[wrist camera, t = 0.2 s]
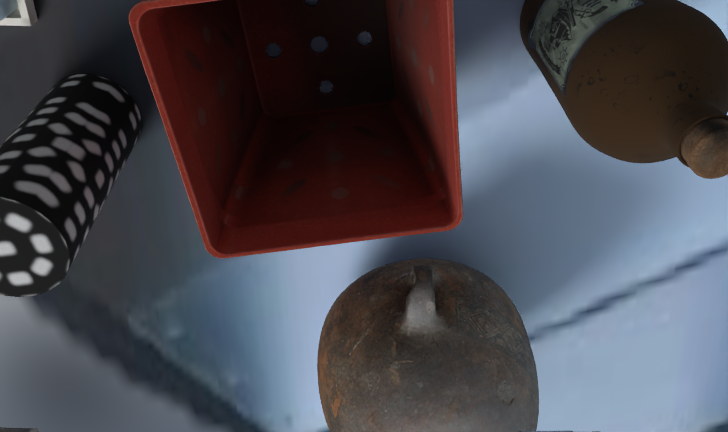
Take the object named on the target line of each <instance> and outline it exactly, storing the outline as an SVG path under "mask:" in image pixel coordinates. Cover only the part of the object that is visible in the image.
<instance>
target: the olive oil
mask: <svg viewBox="0 0 728 432" xmlns="http://www.w3.org/2000/svg"><path fill="white" fill-rule="evenodd" d="M520 31H521V37H522V40H523V43H524V45H525V47H526V49H527V51H528V52H529V54H530V55H531V57H532V59H533V60H534V62H535V63H536V65H537V66H538V68H539V69H540V71H541V72H542V74H543V76H544V77H545V79H546V81H547V82H548V84H549V86H550V87H551V89H552V91H553V92H554V94H555V96H556V97H557V99H558V101H559V103H560V104H561V106H562V108H563V110H564V111H565V113H566V115H567V117H568V119H569V120H570V122H571V124H572V125H573V127H574V128H575V130H576V131H577V133H578V134H579V135H580V136H581V137H582V138H583V139H584V140H585V141H586V142H587V143H588V144H589V145H591V146H592V147H593V148H595V149H597V150H598V151H600V152H602V153H604V154H606V155H608V156H611V157H613V158H616V159H619V160H622V161H627V162H633V163H653V162H659V161H664V160H668V159H671V158H674V157H677V158H678V159H679V160H680V161H681V162H682V163H683V164H684V165H686V166H688V167H690V168H691V169H692V170H693V172H694V173H695V174H697V175H698V176H700V177H703V178H708V179H713V178H719V177H722V176H725V175H727V174H728V116H727V115H726V114H727V112H728V41H727V39H726V37H725V35H724V34H723V32H722V31H721V29H720V28H719V27H718V26H717V25H716V24H715V23H714V22H713V21H712V20H711V19H710V18H709V17H707V16H706V15H705V14H703V13H702V12H700V11H698V10H696V9H695V8H693V7H690V6H688V5H686V4H684V3H682V2H680V1H678V0H525V3H524V5H523V8H522V12H521V18H520Z"/></svg>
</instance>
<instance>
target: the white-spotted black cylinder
mask: <svg viewBox="0 0 728 432" xmlns="http://www.w3.org/2000/svg"><path fill="white" fill-rule="evenodd" d="M140 132H141V116H140V112H139V109H138V107H137V105H136V103H135V102H134V100H133V99H132V97H131V96H130V95H129V94H128V93H127V92H126V91H125V90H124V89H123V88H122V87H120V86H119V85H118V84H116V83H115V82H113V81H111V80H109V79H107V78H104V77H100V76H97V75H91V74H77V75H73V76H69V77H67V78H65V79H63V80H61V81H60V82H59V83H57V84H56V85H55V86H54V87H53V88H52V89H51V90H50V92H49V93H48V94H47V95H46V96H45V97H44V98H43V99H42V101H41V102H40V103H39V104H38V105H37V106H36V107H35V108H34V109H33V111H32V112H31V113H30V114H29V115H28V116H27V117H26V118H25V119H24V121H23V122H22V123H21V124H20V125H19V126H18V127H17V128H16V129H15V131H14V132H13V133H12V134H11V135H10V136H9V137H8V138H7V139H6V141H5V142H4V143H3V144H2V145H1V146H0V295H5V296H14V297H25V296H33V295H38V294H42V293H44V292H47V291H49V290H51V289H53V288H54V287H55V286H57V285H58V284H59V283H60V282H61V281H62V280H63V279H64V278H65V276H66V274H67V272H68V270H69V268H70V266H71V264H72V263H73V261H74V259H75V257H76V255H77V253H78V251H79V249H80V247H81V246H82V244H83V242H84V240H85V238H86V236H87V234H88V232H89V230H90V229H91V227H92V225H93V223H94V221H95V219H96V217H97V215H98V213H99V212H100V210H101V208H102V206H103V204H104V202H105V200H106V198H107V196H108V195H109V193H110V191H111V189H112V187H113V185H114V183H115V181H116V179H117V178H118V176H119V174H120V172H121V170H122V168H123V166H124V164H125V162H126V161H127V159H128V157H129V155H130V153H131V151H132V149H133V147H134V145H135V144H136V142H137V140H138V138H139V135H140Z"/></svg>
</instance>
